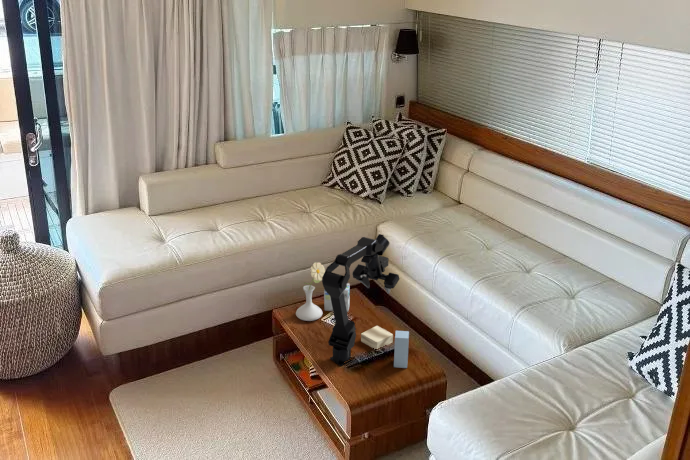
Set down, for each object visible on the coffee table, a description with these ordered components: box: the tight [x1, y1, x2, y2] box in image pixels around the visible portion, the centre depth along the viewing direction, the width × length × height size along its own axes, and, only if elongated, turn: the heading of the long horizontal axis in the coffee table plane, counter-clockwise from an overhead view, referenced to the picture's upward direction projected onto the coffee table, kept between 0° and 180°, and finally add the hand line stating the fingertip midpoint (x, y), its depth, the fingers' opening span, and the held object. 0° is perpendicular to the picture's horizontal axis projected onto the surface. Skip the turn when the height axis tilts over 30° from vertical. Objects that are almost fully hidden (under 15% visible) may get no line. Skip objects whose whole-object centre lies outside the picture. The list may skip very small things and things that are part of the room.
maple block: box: [360, 325, 394, 350], centre depth 271 cm, size 9×9×4 cm
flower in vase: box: [295, 262, 326, 322], centre depth 285 cm, size 13×11×25 cm
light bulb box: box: [323, 282, 351, 313], centre depth 294 cm, size 11×7×11 cm, turn 84°
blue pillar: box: [393, 330, 410, 369], centre depth 255 cm, size 5×5×13 cm
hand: (378, 290), depth 276 cm, fingers open, 9 cm apart
